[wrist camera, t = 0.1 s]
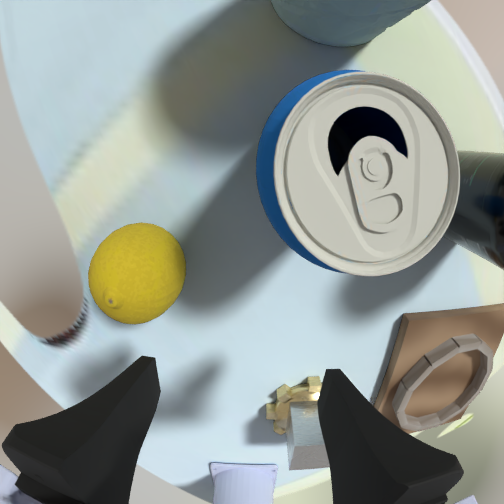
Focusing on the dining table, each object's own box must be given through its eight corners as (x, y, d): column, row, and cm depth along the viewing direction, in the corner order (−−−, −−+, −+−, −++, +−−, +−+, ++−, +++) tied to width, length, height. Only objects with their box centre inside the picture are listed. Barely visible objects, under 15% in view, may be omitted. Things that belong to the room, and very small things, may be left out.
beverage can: (337, 106, 17) (437, 51, 6) (363, 198, 19) (478, 252, 8) (243, 131, 18) (221, 87, 6) (273, 225, 20) (295, 318, 8)
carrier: (456, 412, 26) (465, 426, 24) (361, 434, 26) (367, 452, 24) (506, 303, 21) (521, 314, 19) (403, 313, 22) (417, 330, 19)
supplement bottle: (487, 218, 19) (591, 265, 8) (430, 250, 20) (536, 325, 9) (469, 140, 17) (588, 150, 6) (407, 166, 18) (538, 187, 7)
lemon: (189, 294, 21) (158, 362, 14) (121, 275, 21) (66, 328, 13) (204, 222, 20) (172, 263, 12) (129, 204, 19) (65, 232, 12)
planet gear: (339, 426, 26) (350, 473, 20) (264, 430, 26) (265, 479, 20) (355, 373, 23) (375, 424, 18) (268, 377, 24) (270, 433, 18)
